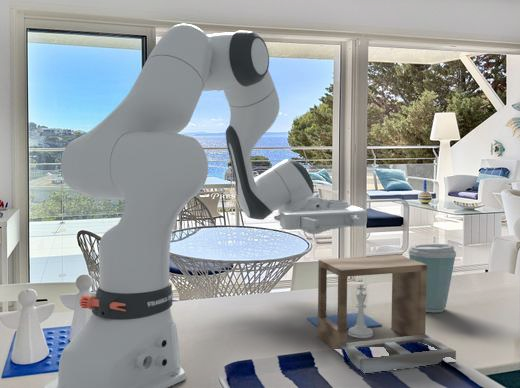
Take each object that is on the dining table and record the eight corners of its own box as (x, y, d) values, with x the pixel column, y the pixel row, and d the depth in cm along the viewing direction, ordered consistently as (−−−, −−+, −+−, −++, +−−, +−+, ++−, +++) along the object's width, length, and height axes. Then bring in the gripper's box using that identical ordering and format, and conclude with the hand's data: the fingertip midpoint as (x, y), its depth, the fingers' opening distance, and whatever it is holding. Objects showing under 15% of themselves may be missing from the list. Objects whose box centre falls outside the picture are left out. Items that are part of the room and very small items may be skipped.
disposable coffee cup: (401, 311, 122) (403, 246, 121) (411, 300, 132) (413, 239, 131) (451, 318, 117) (453, 249, 116) (457, 306, 127) (459, 242, 126)
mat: (307, 319, 117) (307, 317, 117) (361, 313, 121) (361, 312, 121) (324, 332, 108) (324, 330, 108) (381, 326, 112) (381, 324, 112)
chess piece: (355, 328, 111) (356, 280, 110) (377, 333, 108) (378, 283, 107) (343, 334, 107) (343, 284, 106) (365, 340, 104) (366, 288, 103)
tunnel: (317, 336, 106) (318, 259, 105) (396, 328, 111) (398, 254, 110) (364, 374, 88) (365, 281, 86) (455, 362, 93) (458, 274, 91)
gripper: (271, 203, 127) (291, 211, 114) (351, 200, 133) (378, 207, 120) (271, 230, 128) (291, 240, 115) (350, 225, 133) (378, 235, 120)
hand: (336, 223), depth 117 cm, fingers open, 8 cm apart
